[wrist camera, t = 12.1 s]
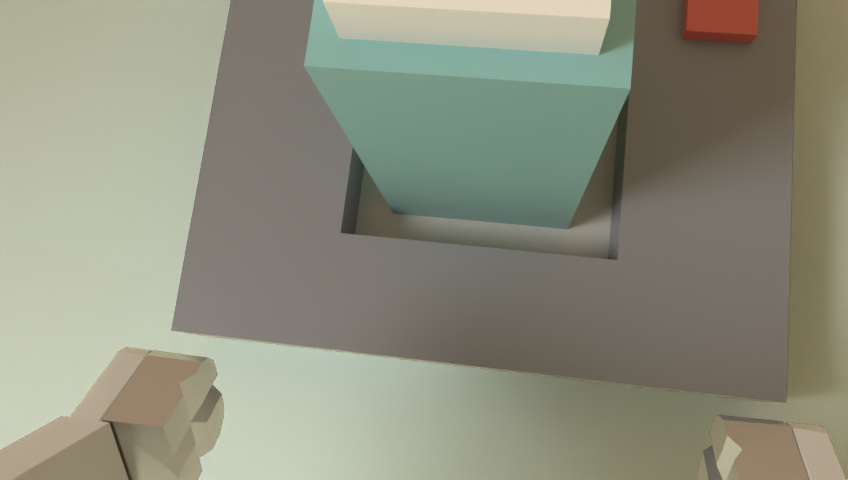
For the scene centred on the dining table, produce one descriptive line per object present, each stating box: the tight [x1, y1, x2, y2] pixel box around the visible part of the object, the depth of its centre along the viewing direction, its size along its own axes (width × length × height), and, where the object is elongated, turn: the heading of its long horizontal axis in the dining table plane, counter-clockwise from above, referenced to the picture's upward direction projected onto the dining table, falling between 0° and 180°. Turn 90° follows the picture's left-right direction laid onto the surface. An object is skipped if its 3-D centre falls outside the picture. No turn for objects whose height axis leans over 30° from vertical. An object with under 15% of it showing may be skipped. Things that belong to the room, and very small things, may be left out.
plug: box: [304, 0, 637, 229], centre depth 14 cm, size 4×4×10 cm
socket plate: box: [171, 0, 797, 403], centre depth 18 cm, size 14×12×2 cm
